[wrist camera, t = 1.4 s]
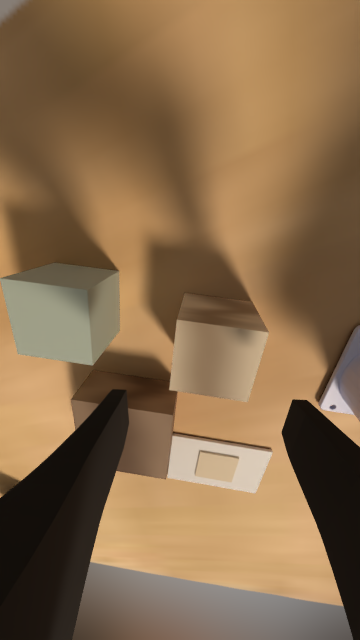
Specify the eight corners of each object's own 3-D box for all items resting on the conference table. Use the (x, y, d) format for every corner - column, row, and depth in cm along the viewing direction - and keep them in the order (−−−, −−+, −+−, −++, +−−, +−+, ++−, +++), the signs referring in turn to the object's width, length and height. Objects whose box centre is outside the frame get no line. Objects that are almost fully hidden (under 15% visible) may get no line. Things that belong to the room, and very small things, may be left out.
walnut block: (178, 380, 21) (173, 415, 17) (172, 439, 24) (166, 479, 20) (94, 368, 21) (71, 399, 17) (99, 428, 24) (80, 464, 21)
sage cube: (119, 270, 17) (87, 290, 12) (120, 330, 19) (92, 365, 14) (55, 262, 17) (-1, 278, 12) (62, 322, 19) (18, 354, 14)
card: (271, 449, 22) (273, 454, 22) (254, 490, 25) (255, 495, 25) (173, 433, 23) (172, 437, 23) (167, 474, 26) (166, 479, 25)
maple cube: (251, 301, 17) (269, 332, 12) (237, 357, 19) (247, 402, 14) (184, 292, 17) (176, 319, 12) (178, 348, 19) (169, 389, 14)
